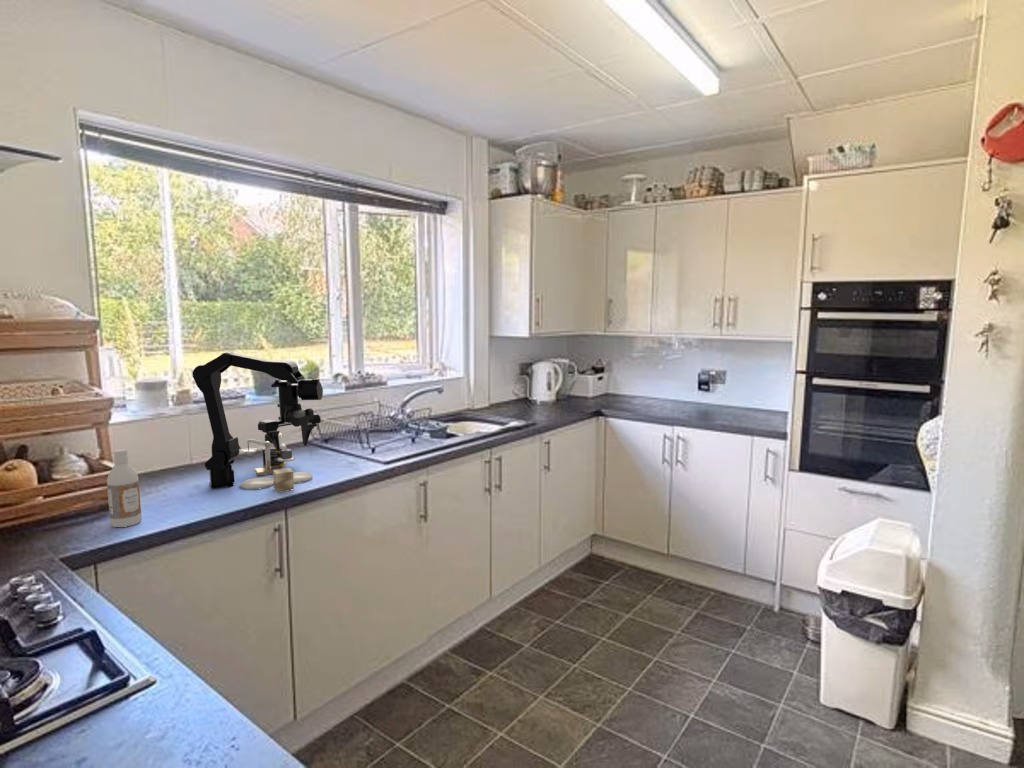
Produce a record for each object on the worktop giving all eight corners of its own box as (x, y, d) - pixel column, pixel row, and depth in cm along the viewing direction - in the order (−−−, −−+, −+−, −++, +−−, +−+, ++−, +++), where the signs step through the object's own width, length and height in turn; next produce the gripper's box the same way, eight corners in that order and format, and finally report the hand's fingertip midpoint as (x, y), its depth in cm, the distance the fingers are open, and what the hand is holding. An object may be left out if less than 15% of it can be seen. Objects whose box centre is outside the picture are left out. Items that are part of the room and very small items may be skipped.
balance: (241, 478, 197) (239, 441, 196) (238, 474, 202) (236, 438, 201) (297, 470, 207) (296, 435, 206) (293, 466, 212) (291, 432, 211)
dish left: (244, 491, 183) (244, 488, 183) (238, 483, 191) (238, 480, 191) (277, 486, 188) (277, 483, 188) (271, 478, 197) (271, 475, 197)
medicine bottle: (263, 468, 210) (261, 435, 208) (266, 463, 217) (264, 431, 215) (284, 466, 212) (282, 434, 210) (286, 461, 219) (285, 430, 217)
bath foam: (119, 530, 150) (113, 454, 148) (105, 525, 154) (98, 451, 151) (147, 521, 156) (141, 449, 154) (132, 517, 160) (126, 446, 157)
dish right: (284, 485, 190) (284, 482, 189) (277, 477, 198) (277, 474, 198) (315, 480, 195) (315, 477, 195) (307, 473, 203) (307, 470, 203)
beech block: (277, 492, 182) (276, 473, 181) (273, 488, 186) (272, 470, 186) (293, 489, 185) (293, 471, 184) (290, 485, 189) (289, 467, 188)
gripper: (272, 407, 174) (276, 458, 176) (328, 399, 188) (331, 446, 190) (255, 403, 181) (259, 452, 183) (310, 396, 195) (313, 441, 197)
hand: (291, 448), depth 188 cm, fingers open, 9 cm apart
